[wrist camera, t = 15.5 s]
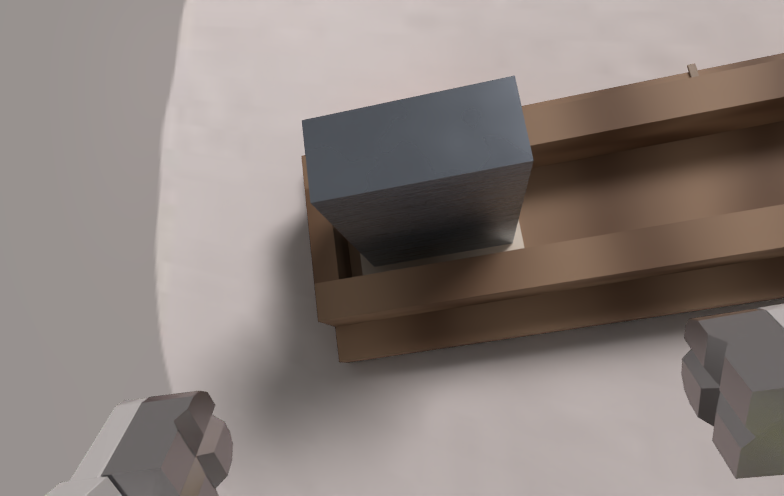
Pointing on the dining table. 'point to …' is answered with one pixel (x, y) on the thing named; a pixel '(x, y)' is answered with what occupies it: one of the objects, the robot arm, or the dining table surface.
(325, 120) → the panel
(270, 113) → the dining table surface
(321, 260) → the tray
